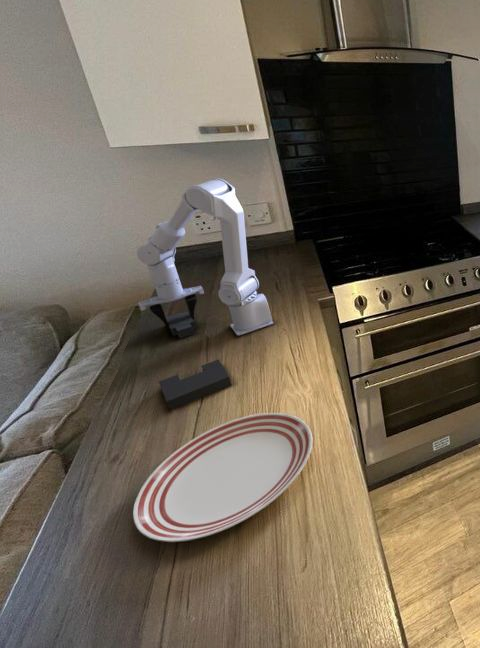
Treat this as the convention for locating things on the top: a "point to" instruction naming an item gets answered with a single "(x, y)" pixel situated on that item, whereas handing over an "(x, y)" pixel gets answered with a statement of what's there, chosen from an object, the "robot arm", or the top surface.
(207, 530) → the dinner plate
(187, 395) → the notch pad
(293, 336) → the top surface
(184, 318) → the tongue pad
